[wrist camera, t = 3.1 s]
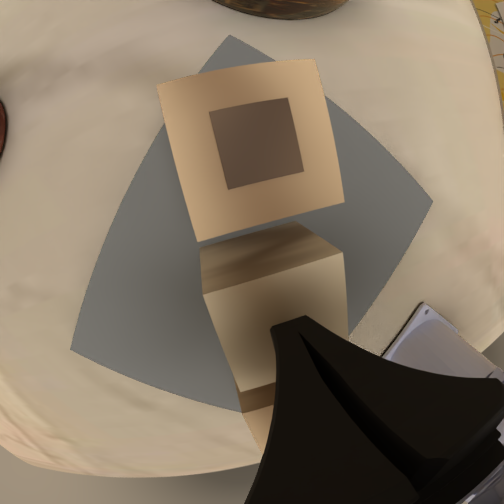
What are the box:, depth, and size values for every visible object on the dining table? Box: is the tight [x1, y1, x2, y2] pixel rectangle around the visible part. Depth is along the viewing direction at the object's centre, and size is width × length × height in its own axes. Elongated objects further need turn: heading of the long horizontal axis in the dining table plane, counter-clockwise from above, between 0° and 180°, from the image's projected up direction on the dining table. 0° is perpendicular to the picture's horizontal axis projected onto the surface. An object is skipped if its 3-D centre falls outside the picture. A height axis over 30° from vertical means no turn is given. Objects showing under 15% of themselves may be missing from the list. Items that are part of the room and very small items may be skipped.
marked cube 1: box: [157, 59, 345, 242], centre depth 10 cm, size 5×5×5 cm
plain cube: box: [200, 221, 349, 392], centre depth 12 cm, size 5×5×5 cm
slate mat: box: [70, 35, 433, 413], centre depth 15 cm, size 16×20×1 cm
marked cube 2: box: [234, 378, 276, 454], centre depth 15 cm, size 5×5×5 cm
